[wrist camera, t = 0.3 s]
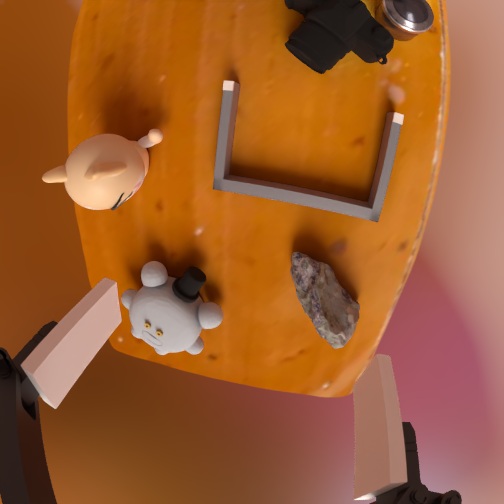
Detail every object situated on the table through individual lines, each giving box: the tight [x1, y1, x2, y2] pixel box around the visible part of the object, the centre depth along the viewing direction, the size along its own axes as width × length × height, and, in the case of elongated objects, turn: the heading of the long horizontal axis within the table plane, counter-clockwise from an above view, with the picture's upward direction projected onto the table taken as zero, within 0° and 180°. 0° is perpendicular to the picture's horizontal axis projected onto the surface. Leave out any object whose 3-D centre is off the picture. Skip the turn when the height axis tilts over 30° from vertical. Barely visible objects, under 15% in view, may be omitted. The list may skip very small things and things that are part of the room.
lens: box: [376, 0, 434, 41], centre depth 20 cm, size 6×6×6 cm
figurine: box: [121, 261, 223, 355], centre depth 46 cm, size 17×8×20 cm
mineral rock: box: [291, 252, 360, 348], centre depth 37 cm, size 13×11×10 cm
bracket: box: [213, 81, 404, 222], centre depth 32 cm, size 14×21×3 cm, turn 83°
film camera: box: [284, 0, 394, 74], centre depth 22 cm, size 15×10×9 cm, turn 50°
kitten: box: [42, 129, 163, 211], centre depth 32 cm, size 15×10×15 cm
